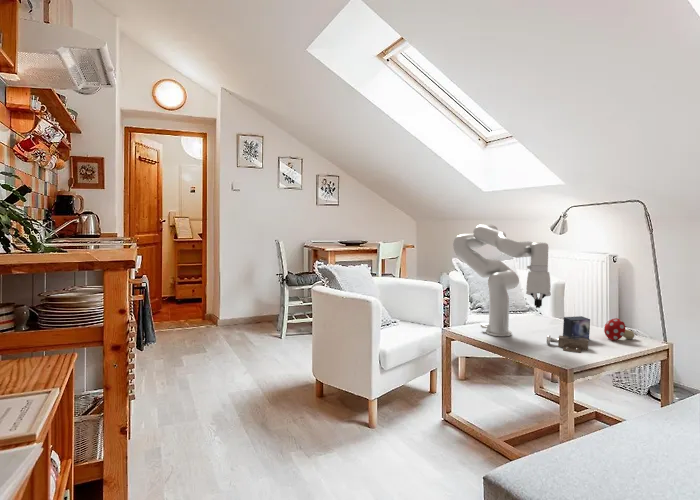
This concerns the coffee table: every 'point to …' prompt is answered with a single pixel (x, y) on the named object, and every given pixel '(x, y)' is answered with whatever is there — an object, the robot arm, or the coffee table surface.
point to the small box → (576, 327)
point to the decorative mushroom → (617, 330)
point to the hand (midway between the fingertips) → (538, 307)
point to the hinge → (573, 343)
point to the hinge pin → (551, 339)
